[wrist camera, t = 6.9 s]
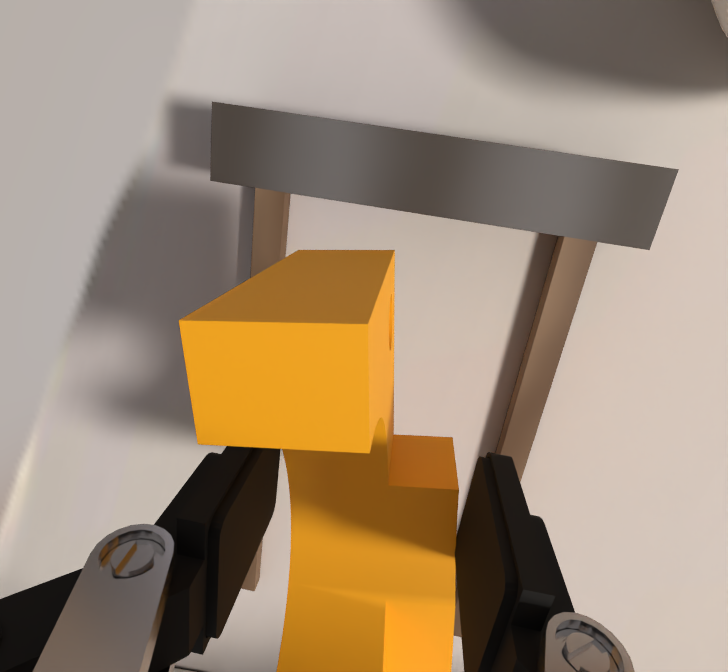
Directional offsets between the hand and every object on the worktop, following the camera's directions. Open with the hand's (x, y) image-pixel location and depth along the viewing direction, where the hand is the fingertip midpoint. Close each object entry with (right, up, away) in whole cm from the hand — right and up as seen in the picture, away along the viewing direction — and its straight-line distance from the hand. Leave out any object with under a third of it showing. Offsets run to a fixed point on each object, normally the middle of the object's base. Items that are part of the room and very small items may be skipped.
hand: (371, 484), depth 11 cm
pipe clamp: (0, 0, +3) cm, 3 cm away
